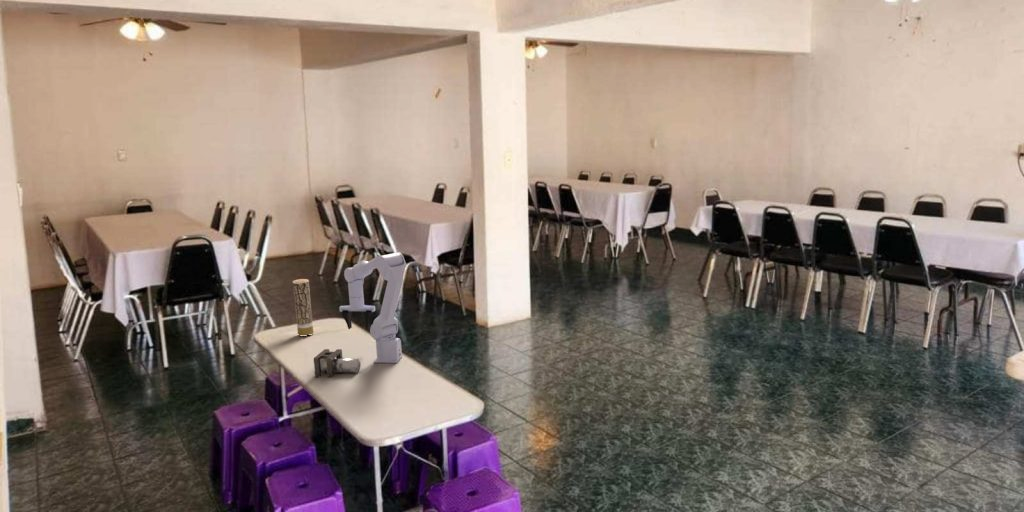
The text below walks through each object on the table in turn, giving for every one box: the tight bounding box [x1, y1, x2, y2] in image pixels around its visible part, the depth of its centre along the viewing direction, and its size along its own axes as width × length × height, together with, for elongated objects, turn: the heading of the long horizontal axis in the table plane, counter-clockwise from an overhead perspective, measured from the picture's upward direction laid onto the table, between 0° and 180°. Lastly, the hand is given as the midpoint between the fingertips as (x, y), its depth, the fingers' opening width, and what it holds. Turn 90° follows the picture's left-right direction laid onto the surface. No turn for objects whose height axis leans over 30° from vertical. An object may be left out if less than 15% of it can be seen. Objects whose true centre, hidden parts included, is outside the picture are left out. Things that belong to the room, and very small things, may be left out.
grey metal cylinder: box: [320, 357, 361, 374], centre depth 269 cm, size 15×6×5 cm, turn 82°
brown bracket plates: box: [313, 348, 344, 379], centre depth 270 cm, size 7×11×7 cm, turn 172°
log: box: [292, 278, 314, 336], centre depth 318 cm, size 7×7×25 cm
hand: (358, 328), depth 292 cm, fingers open, 7 cm apart
